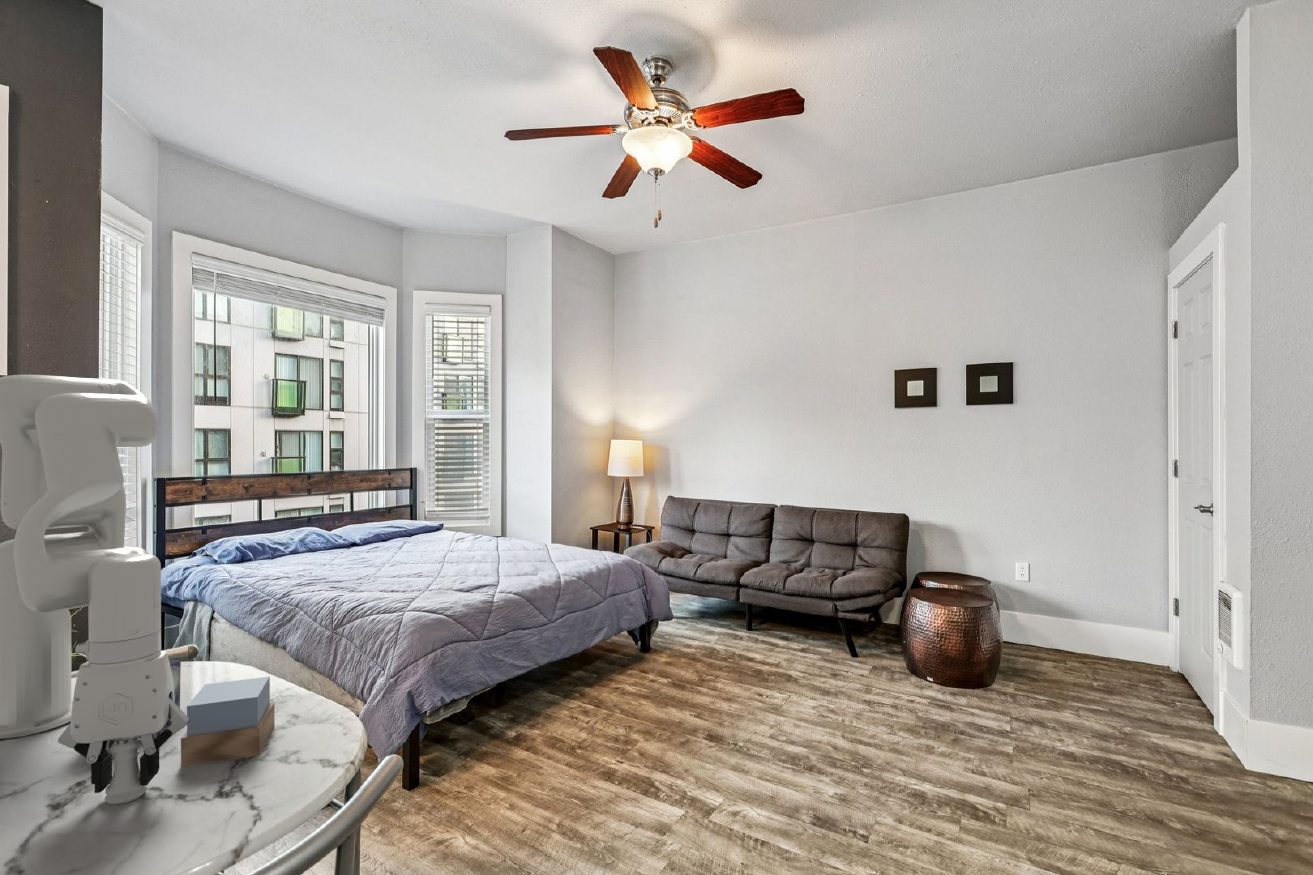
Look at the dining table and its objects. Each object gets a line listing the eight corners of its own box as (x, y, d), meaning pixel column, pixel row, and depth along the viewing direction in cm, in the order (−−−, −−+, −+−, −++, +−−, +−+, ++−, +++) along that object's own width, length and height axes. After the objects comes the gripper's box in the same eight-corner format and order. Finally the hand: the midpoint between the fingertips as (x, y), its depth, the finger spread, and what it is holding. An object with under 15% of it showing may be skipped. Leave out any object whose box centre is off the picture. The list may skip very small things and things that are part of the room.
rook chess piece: (142, 783, 89) (142, 726, 89) (151, 795, 86) (151, 735, 86) (100, 797, 85) (100, 738, 85) (108, 810, 82) (108, 748, 82)
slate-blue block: (187, 736, 94) (186, 706, 94) (205, 712, 102) (205, 684, 102) (257, 726, 97) (257, 696, 97) (269, 703, 106) (269, 676, 106)
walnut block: (180, 769, 93) (180, 738, 93) (203, 739, 103) (203, 711, 103) (259, 757, 97) (259, 727, 97) (274, 729, 106) (274, 702, 106)
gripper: (29, 664, 79) (29, 812, 79) (190, 649, 85) (190, 786, 85) (62, 646, 86) (62, 781, 86) (208, 633, 92) (208, 760, 92)
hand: (126, 782), depth 86 cm, fingers closed on rook chess piece, 4 cm apart
